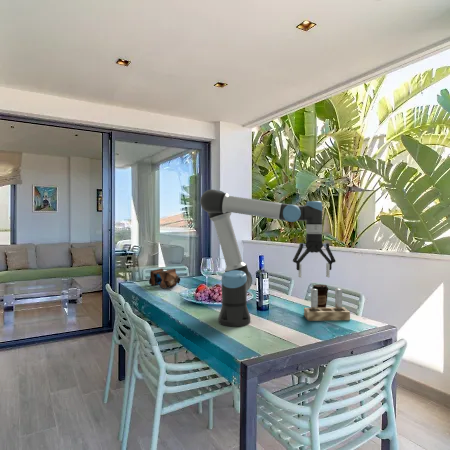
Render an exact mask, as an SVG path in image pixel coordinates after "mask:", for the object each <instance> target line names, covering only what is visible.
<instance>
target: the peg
mask: <svg viewBox="0 0 450 450" xmlns="http://www.w3.org/2000/svg"><path fill="white" fill-rule="evenodd" d="M310 308H311V311H318V289H312V288H311V289H310Z"/></svg>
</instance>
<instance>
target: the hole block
mask: <svg viewBox="0 0 450 450" xmlns="http://www.w3.org/2000/svg"><path fill="white" fill-rule="evenodd" d="M303 317H305V319H306V320H307V321H308V322H312V321H317V322H319V321H320V322H321V321H350V320H351V311H350V310H348V309H347V308H346V307H345V306H342V311H335V306H334V307H327V306H326V307H325V308H318V311H311V307H304V308H303Z"/></svg>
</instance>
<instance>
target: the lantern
mask: <svg viewBox="0 0 450 450" xmlns="http://www.w3.org/2000/svg"><path fill="white" fill-rule="evenodd" d="M149 274H150V277H149V280H148V283H149V285H151V287H153V286H159V287H161V288H163V289H164V288H165V289H168V288H167V287H169V288H172V286H173V287H176V286H177V284H180V282H181V278H180V276H179V275H180V274H179V275H178V274H177V270H176V268H170V269H167V270H165V269H164V268H159V269H154V270H150V272H149Z"/></svg>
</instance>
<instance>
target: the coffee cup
mask: <svg viewBox="0 0 450 450" xmlns="http://www.w3.org/2000/svg"><path fill="white" fill-rule="evenodd" d="M312 286H313V287H311V289H318V308H325V307H327V304H328V303H327V302H328V291H329V287H328V285H327V284H320V283H319V284H313V285H312Z"/></svg>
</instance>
